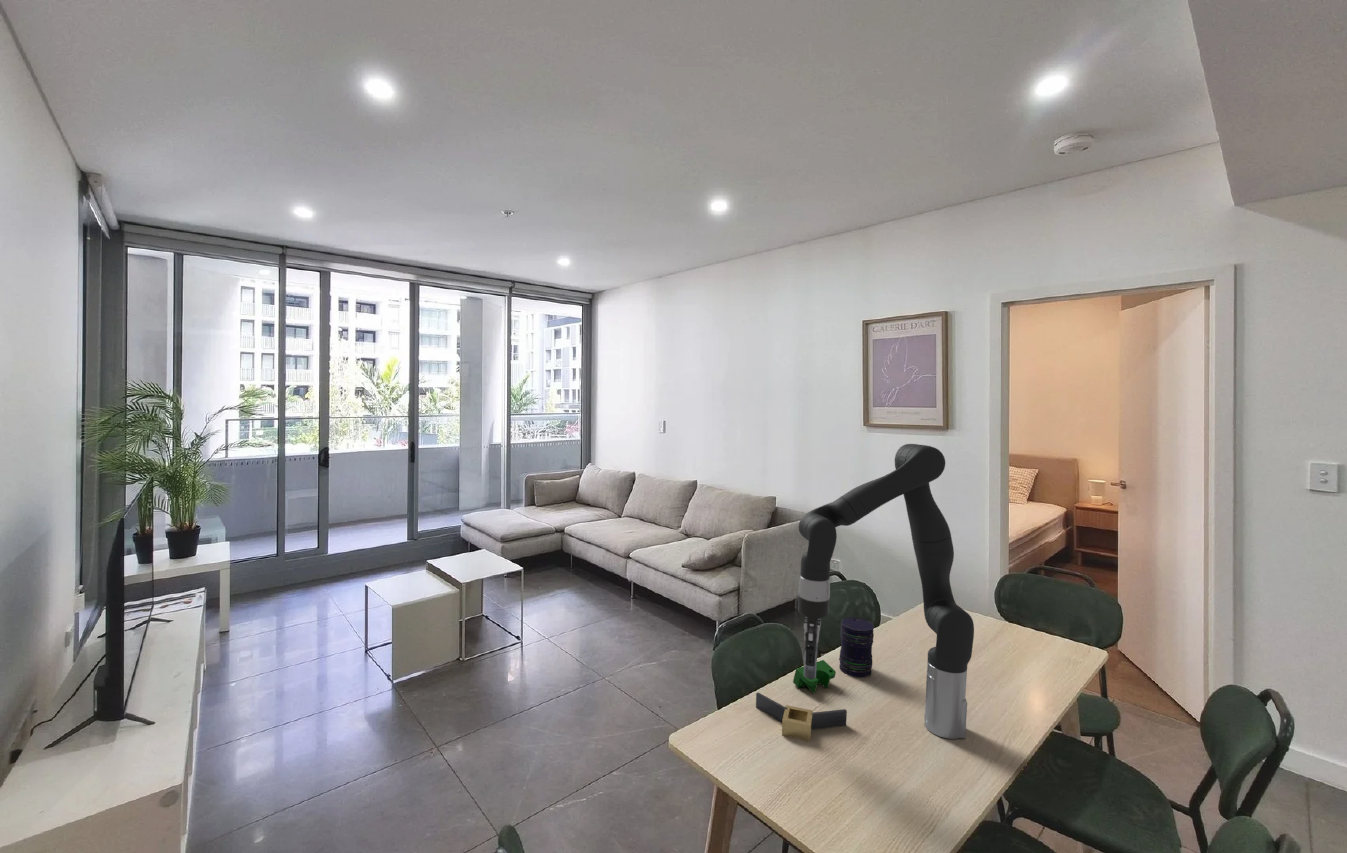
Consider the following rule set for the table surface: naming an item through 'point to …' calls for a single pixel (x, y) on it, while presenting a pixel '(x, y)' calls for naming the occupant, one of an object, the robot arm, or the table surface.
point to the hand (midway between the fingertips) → (810, 661)
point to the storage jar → (856, 647)
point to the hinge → (800, 718)
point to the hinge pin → (810, 667)
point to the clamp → (822, 676)
